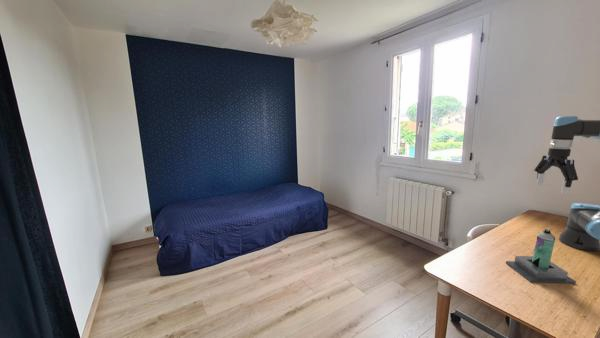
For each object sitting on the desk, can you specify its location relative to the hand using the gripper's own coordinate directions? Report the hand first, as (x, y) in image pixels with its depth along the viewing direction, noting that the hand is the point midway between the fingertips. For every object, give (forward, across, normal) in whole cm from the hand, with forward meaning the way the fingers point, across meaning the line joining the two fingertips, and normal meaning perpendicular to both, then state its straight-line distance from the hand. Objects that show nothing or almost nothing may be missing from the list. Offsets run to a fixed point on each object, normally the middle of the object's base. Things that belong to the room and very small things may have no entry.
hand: (551, 189), depth 125 cm
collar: (+33, +23, -20) cm, 44 cm away
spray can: (+32, +23, -20) cm, 44 cm away
